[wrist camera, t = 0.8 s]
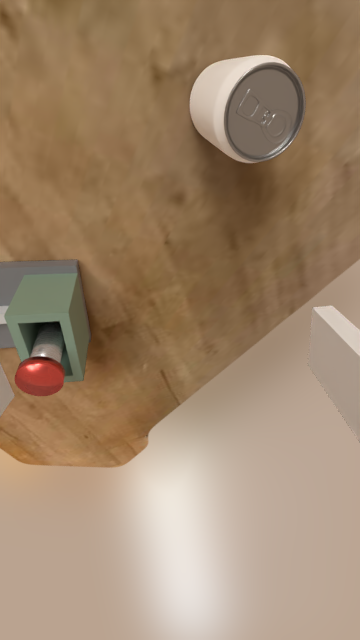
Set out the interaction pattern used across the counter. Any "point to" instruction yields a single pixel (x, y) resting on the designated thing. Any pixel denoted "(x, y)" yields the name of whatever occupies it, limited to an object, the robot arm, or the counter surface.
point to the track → (44, 309)
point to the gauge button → (43, 363)
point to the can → (248, 107)
